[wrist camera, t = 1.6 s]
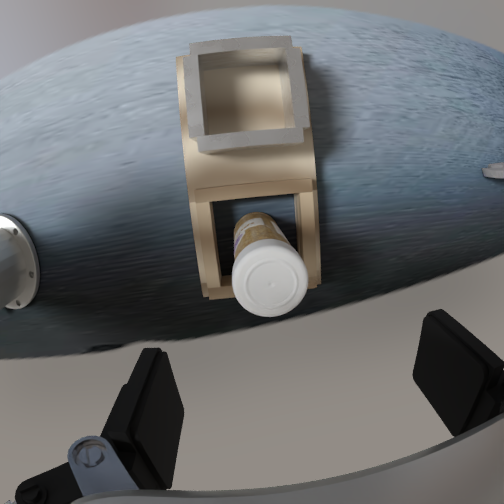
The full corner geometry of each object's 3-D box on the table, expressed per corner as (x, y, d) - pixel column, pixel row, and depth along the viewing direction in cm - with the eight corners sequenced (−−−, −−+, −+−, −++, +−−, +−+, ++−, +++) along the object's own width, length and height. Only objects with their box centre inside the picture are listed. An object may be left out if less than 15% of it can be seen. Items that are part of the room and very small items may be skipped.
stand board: (317, 278, 32) (324, 289, 29) (204, 291, 32) (201, 303, 29) (298, 51, 26) (304, 41, 23) (178, 61, 25) (173, 51, 22)
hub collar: (299, 145, 27) (311, 141, 23) (197, 155, 27) (190, 152, 22) (289, 53, 24) (298, 36, 20) (189, 61, 24) (182, 44, 20)
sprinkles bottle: (235, 209, 30) (234, 242, 17) (281, 213, 30) (315, 249, 17) (231, 254, 31) (229, 317, 18) (276, 257, 31) (303, 321, 18)
